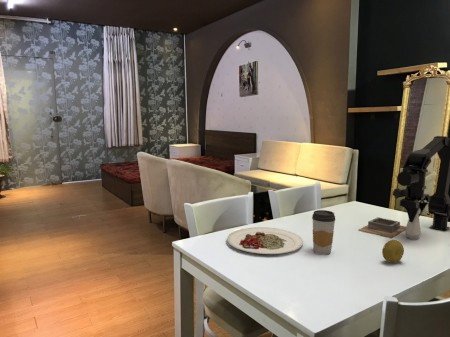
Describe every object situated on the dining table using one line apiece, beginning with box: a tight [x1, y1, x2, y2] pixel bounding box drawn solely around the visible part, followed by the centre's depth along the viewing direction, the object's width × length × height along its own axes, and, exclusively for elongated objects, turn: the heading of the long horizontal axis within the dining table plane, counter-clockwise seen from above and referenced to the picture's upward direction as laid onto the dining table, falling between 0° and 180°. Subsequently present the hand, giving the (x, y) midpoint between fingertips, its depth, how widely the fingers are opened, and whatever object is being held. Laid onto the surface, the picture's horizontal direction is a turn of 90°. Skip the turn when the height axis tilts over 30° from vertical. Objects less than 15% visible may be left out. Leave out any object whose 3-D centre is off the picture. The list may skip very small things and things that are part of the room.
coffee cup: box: [311, 209, 336, 256], centre depth 132 cm, size 8×8×15 cm
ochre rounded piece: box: [381, 239, 405, 264], centre depth 123 cm, size 8×4×8 cm, turn 110°
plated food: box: [226, 226, 304, 255], centre depth 142 cm, size 30×30×3 cm
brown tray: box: [358, 217, 407, 239], centre depth 160 cm, size 20×14×4 cm
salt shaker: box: [404, 209, 422, 240], centre depth 148 cm, size 6×6×13 cm
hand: (413, 220), depth 148 cm, fingers open, 6 cm apart
